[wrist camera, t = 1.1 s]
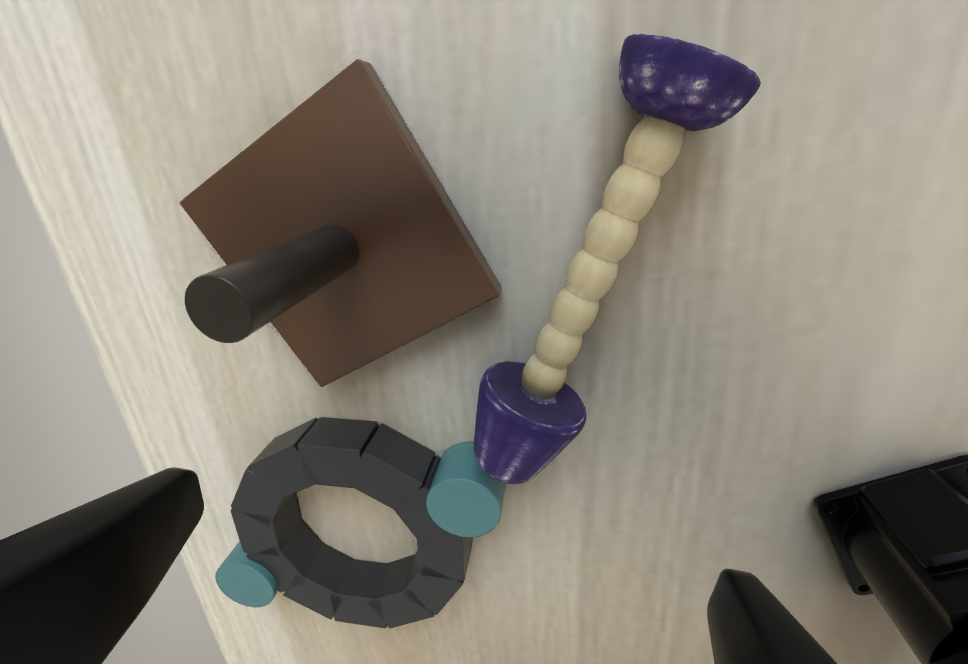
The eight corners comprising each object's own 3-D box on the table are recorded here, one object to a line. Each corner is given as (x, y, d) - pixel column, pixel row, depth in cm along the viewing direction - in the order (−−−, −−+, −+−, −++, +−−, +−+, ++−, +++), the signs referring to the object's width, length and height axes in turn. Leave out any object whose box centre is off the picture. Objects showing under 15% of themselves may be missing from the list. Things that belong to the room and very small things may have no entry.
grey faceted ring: (560, 544, 25) (560, 590, 23) (312, 618, 31) (290, 660, 29) (435, 358, 22) (419, 388, 19) (184, 481, 28) (147, 516, 25)
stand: (502, 287, 20) (465, 384, 12) (331, 376, 23) (218, 497, 16) (370, 62, 17) (216, 6, 10) (198, 198, 21) (-21, 239, 13)
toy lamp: (608, 45, 16) (472, 416, 23) (608, 9, 12) (442, 475, 19) (742, 89, 16) (561, 453, 23) (791, 67, 11) (551, 523, 18)
